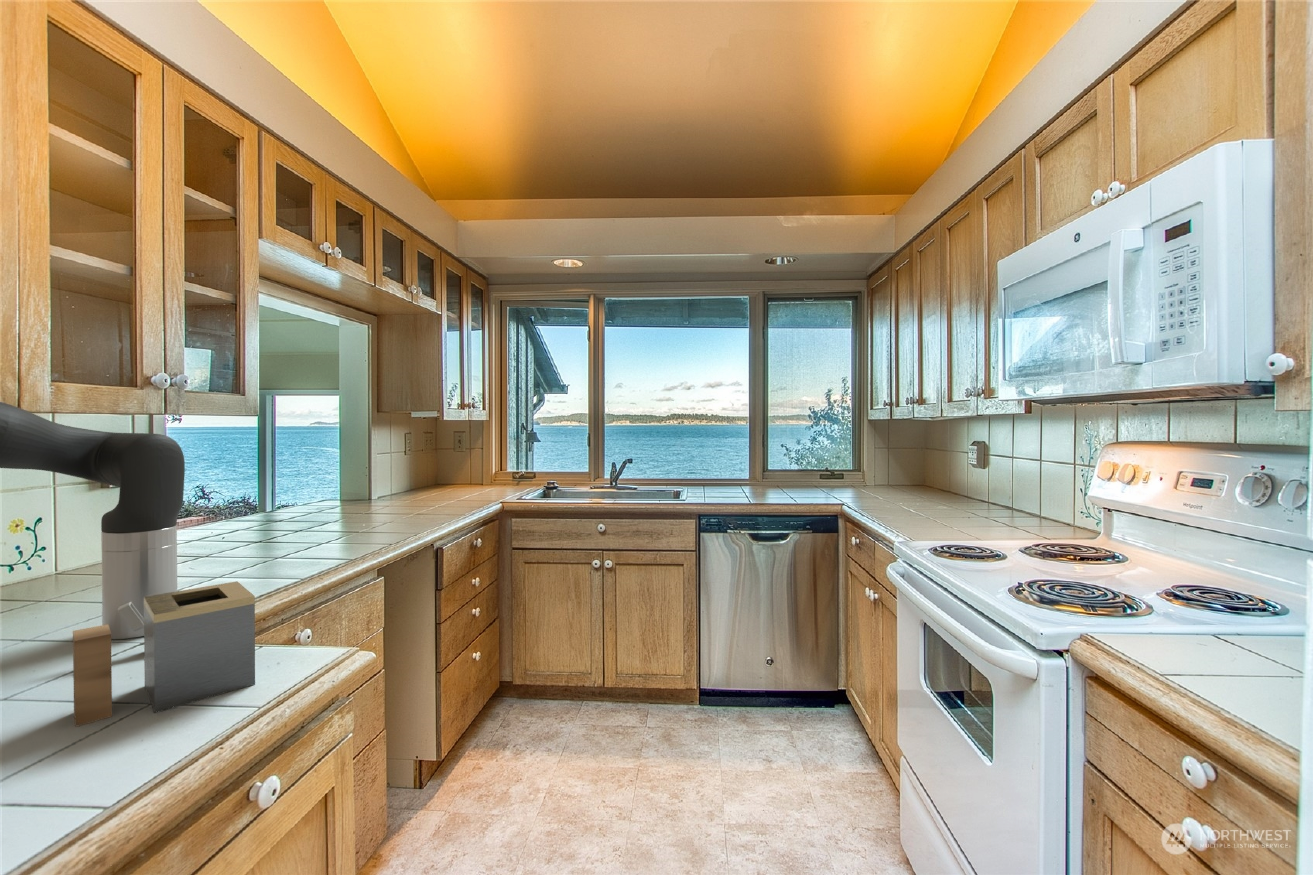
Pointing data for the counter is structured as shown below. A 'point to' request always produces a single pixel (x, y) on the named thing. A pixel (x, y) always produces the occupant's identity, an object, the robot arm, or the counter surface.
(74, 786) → the counter surface
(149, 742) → the counter surface
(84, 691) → the wooden block
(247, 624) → the coin box
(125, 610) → the lighter
